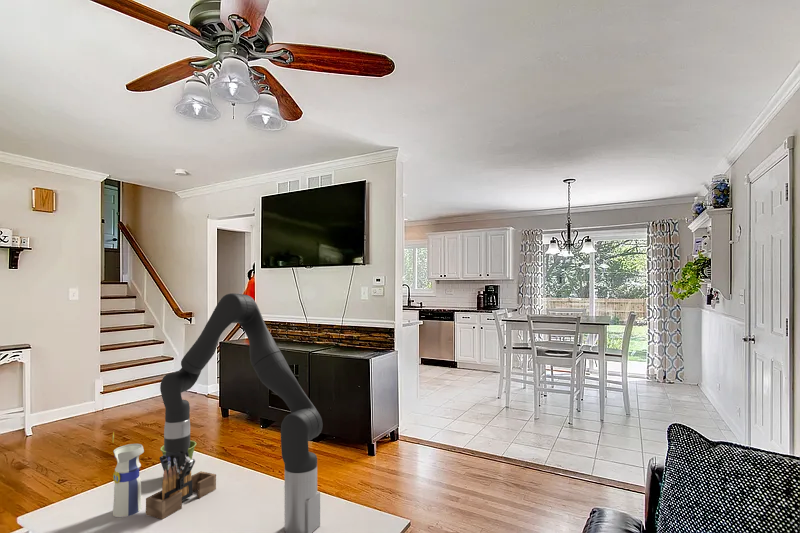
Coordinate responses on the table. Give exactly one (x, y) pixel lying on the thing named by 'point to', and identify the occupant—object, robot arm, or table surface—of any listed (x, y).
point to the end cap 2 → (203, 483)
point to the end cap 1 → (163, 505)
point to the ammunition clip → (170, 485)
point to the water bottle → (127, 480)
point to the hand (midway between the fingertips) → (176, 488)
